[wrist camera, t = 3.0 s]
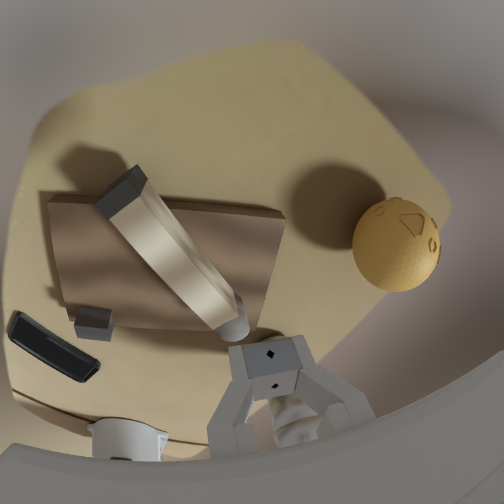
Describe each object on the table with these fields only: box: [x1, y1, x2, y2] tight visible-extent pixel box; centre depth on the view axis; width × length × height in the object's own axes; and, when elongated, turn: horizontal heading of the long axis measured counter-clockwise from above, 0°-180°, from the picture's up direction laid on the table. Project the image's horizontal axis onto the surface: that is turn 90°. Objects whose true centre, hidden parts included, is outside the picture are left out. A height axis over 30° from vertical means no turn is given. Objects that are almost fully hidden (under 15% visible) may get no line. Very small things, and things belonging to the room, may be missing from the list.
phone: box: [8, 312, 100, 383], centre depth 33 cm, size 8×1×15 cm
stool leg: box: [95, 165, 250, 342], centre depth 25 cm, size 19×3×4 cm, turn 29°
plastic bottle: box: [259, 335, 323, 448], centre depth 31 cm, size 6×7×20 cm
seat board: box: [47, 195, 286, 342], centre depth 27 cm, size 15×23×5 cm, turn 79°
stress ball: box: [352, 197, 441, 292], centre depth 28 cm, size 10×10×10 cm
